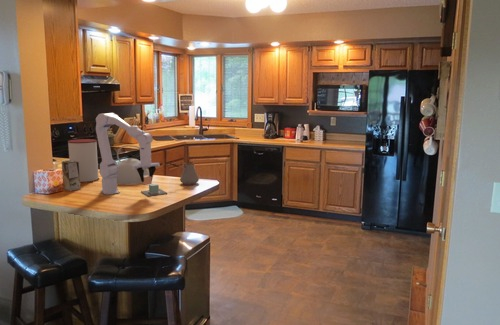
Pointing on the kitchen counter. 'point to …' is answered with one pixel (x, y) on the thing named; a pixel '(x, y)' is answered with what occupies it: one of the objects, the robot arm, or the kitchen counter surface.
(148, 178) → the top block
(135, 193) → the kitchen counter surface
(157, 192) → the grey flat square plate
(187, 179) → the coffee pot
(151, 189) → the base block
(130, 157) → the kettle
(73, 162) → the coffee box
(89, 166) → the container
